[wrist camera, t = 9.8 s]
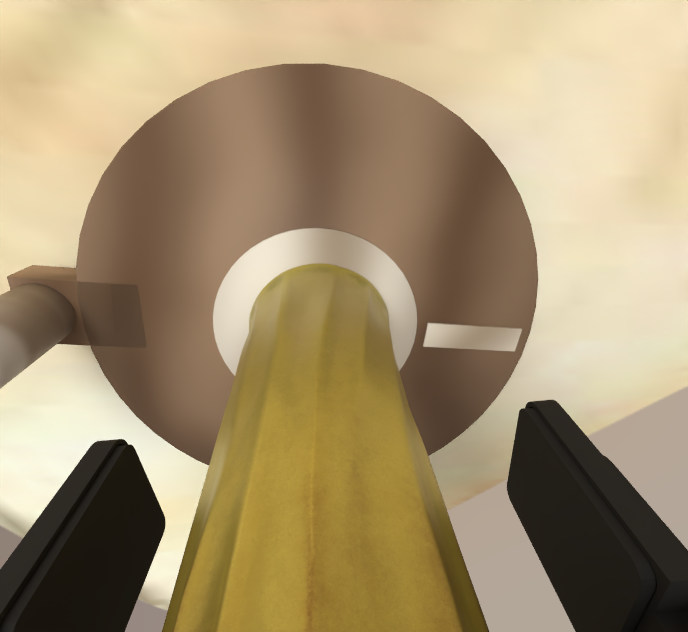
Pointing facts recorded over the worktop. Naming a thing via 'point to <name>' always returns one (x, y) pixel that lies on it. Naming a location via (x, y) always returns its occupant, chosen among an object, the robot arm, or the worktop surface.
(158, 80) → the worktop surface
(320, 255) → the turntable
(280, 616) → the vase
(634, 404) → the worktop surface
